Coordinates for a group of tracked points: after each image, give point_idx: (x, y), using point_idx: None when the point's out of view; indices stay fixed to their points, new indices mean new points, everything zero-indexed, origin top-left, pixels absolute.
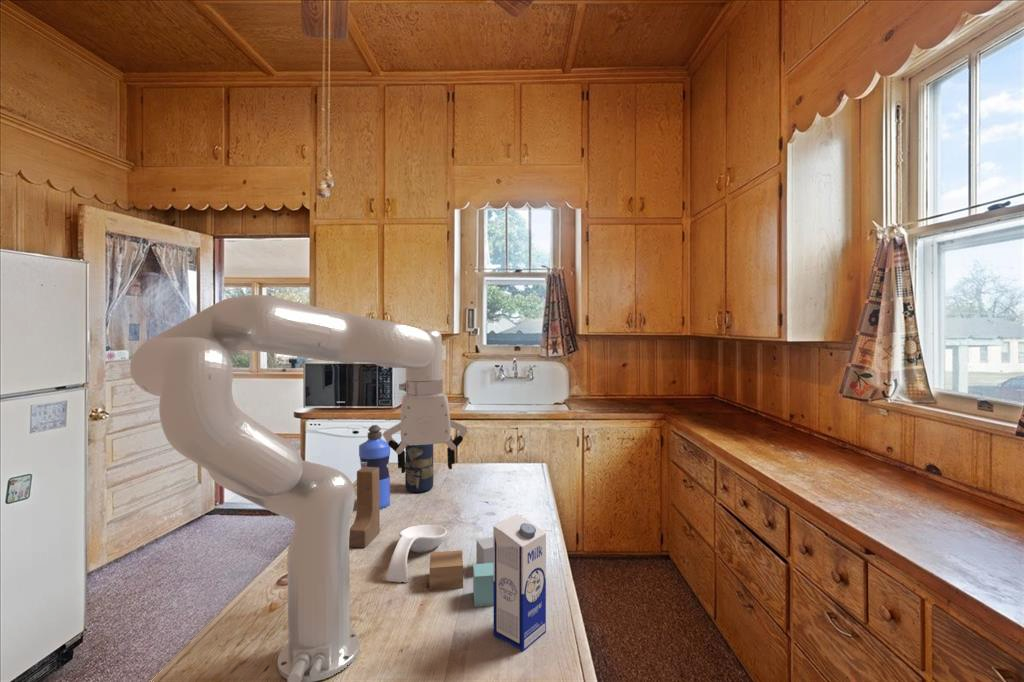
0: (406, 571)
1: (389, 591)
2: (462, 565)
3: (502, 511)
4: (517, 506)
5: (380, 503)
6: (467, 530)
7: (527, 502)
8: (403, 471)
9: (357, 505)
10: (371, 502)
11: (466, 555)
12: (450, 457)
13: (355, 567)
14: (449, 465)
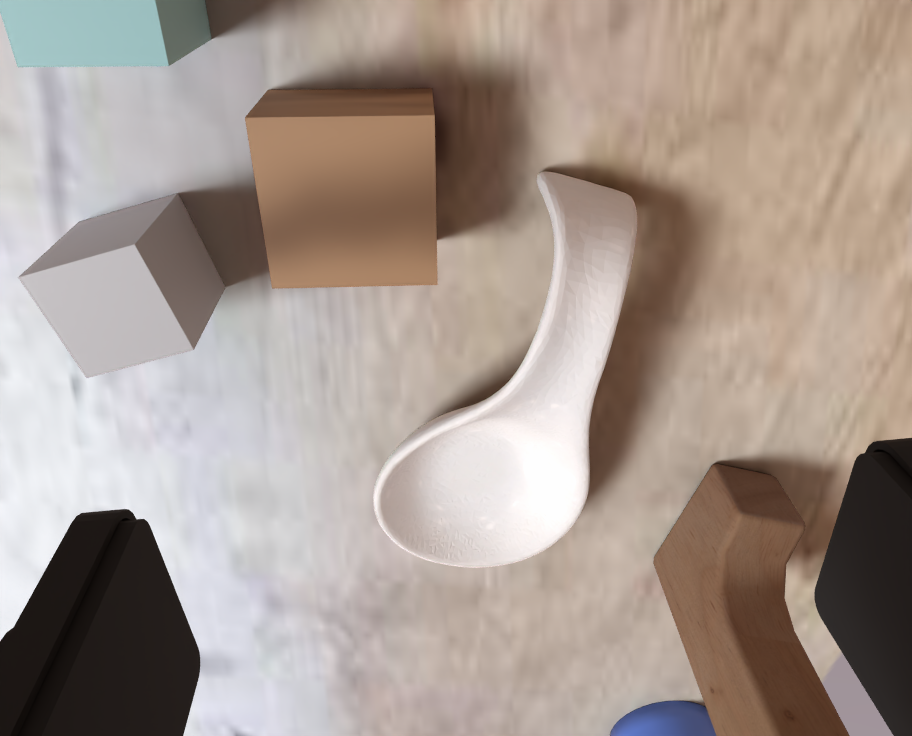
0: (550, 193)
1: (619, 107)
2: (248, 118)
3: None
4: None
5: (650, 728)
6: (297, 557)
7: None
8: (901, 445)
9: (799, 643)
10: (744, 650)
11: (281, 372)
12: (2, 690)
13: (757, 326)
14: (100, 552)
